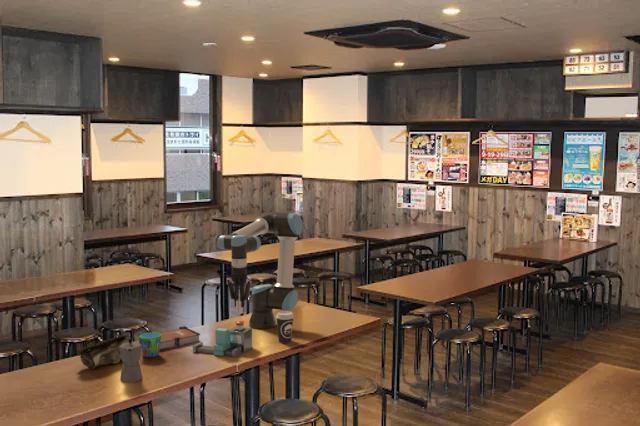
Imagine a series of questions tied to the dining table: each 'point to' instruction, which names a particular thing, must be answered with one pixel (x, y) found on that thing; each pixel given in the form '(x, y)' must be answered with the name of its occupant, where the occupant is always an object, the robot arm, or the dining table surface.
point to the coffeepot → (130, 361)
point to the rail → (210, 350)
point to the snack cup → (150, 344)
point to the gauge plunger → (239, 325)
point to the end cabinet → (241, 338)
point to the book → (178, 338)
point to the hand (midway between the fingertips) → (239, 313)
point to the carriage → (222, 341)
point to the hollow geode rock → (103, 352)
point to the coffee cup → (284, 326)
